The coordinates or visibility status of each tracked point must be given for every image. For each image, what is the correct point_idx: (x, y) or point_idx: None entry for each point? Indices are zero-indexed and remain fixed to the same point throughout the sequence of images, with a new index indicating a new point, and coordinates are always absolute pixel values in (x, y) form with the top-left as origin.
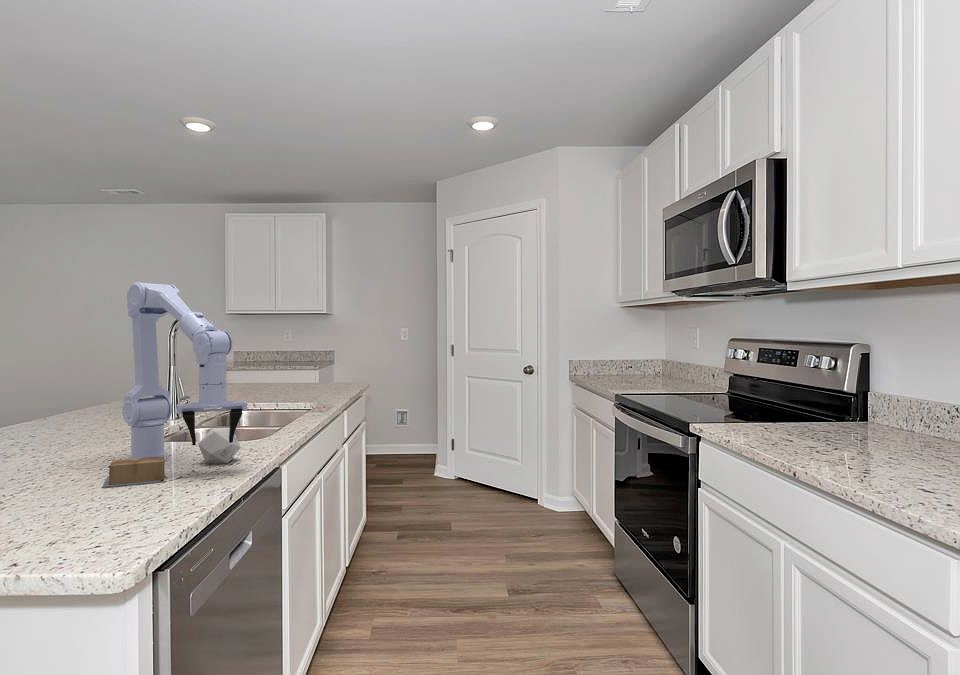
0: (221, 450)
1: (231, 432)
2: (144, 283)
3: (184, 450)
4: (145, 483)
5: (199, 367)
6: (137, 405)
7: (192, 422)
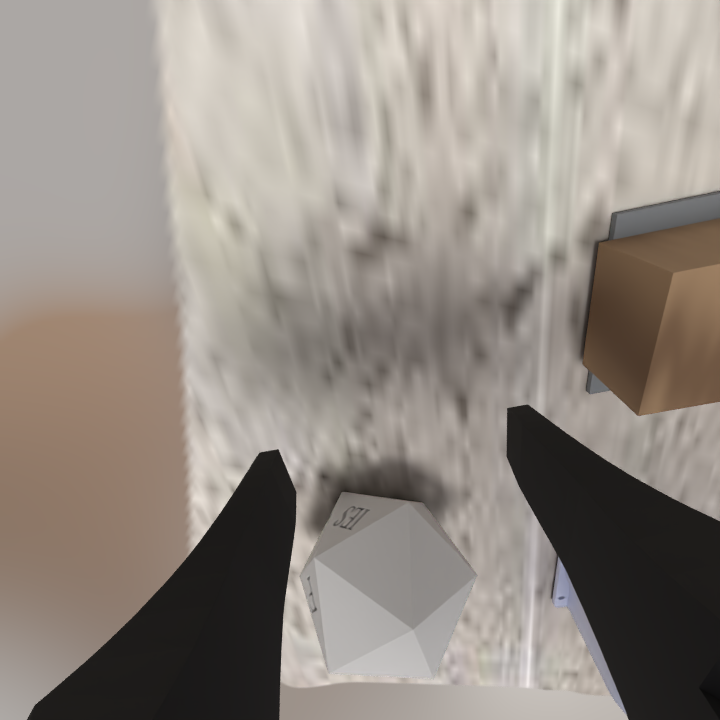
0: (365, 523)
1: (244, 507)
2: None
3: (499, 628)
4: (685, 200)
5: None
6: None
7: (680, 553)
